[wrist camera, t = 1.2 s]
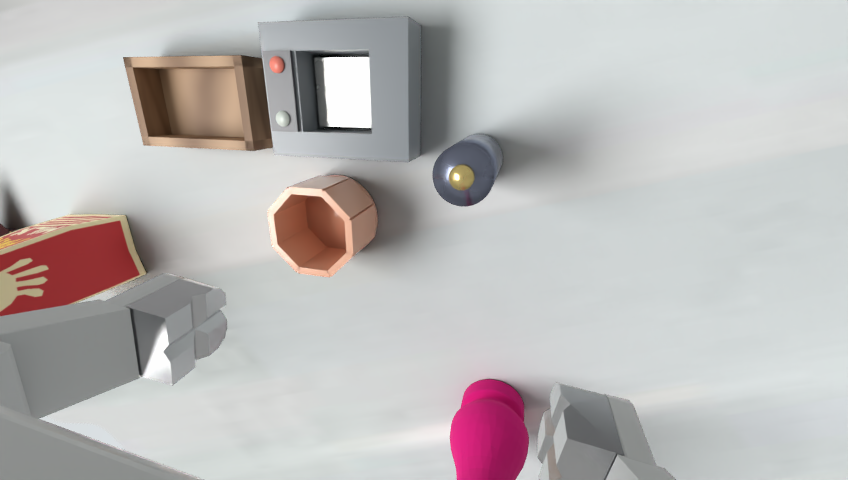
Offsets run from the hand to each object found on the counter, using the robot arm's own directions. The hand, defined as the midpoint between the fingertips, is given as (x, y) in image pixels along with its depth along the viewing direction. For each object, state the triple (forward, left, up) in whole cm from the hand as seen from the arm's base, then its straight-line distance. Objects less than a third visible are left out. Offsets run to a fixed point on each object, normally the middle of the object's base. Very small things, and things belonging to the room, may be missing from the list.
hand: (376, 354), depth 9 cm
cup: (+14, +5, -26) cm, 30 cm away
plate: (+12, -6, -25) cm, 28 cm away
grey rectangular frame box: (+12, -6, -26) cm, 29 cm away
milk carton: (+45, +12, -26) cm, 53 cm away
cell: (+1, -1, -26) cm, 26 cm away
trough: (+26, -5, -26) cm, 37 cm away
